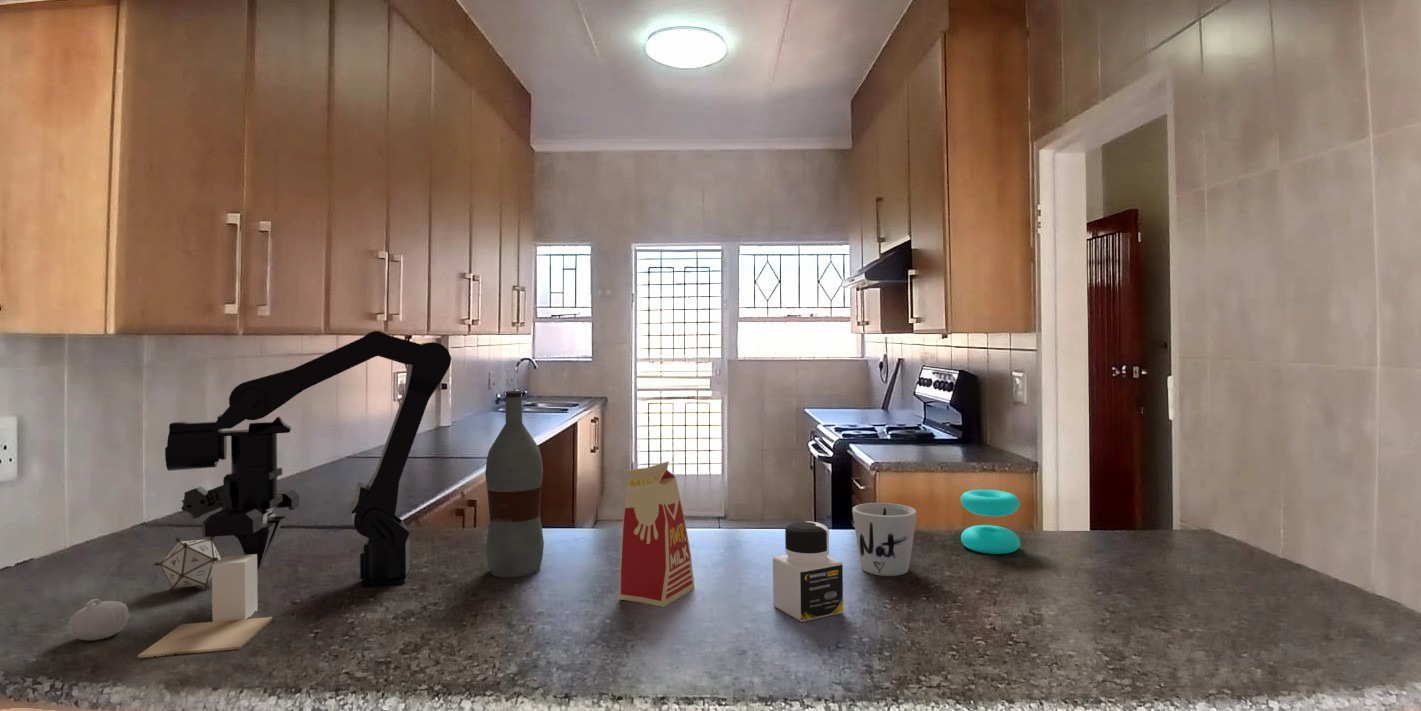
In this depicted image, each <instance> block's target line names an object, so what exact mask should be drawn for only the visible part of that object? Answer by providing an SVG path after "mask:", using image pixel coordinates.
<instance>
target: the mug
mask: <svg viewBox="0 0 1421 711" xmlns="http://www.w3.org/2000/svg"><path fill="white" fill-rule="evenodd" d="M851 512H852V516H853V517H852V518H853V524H854V529H855V532H854V533H855V537H856V544H857V548H858V555H859V562H860V568H861V569H862V570H863V571H864V572H866V573H869V574H872V575H876V576H880V577H896V576H902V575H905V574H906V573H908V572H909V569H910V564H911V563H910V562H911V556H912V550H913V544H914V543H913V542H914V536H915V530H916V529H915V528H916V523H917V522H916V521H917V517H918V516H917V515H918V512H917V510H916V509H915V508H913V507H912V506H908V505H904V504H900V503H891V502H868V503H866V502H865V503H862V504H857V505H855V506H853V507H852V510H851Z"/></svg>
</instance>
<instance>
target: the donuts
mask: <svg viewBox="0 0 1421 711" xmlns="http://www.w3.org/2000/svg"><path fill="white" fill-rule="evenodd" d="M960 504H961V506H962V507H963V508H964V509H965V510H966V511H968V512H970V513H972V514H974V515H979V516H984V517H1004V516H1009V515H1013V514H1014V513H1015V512H1017V511H1018V509H1019V508H1020V506H1021V505H1020V504H1021V503H1020V500H1019V498H1018V497H1017V496H1016V495H1015V494H1013V493H1011V492H1007V491H1005V490H1004V491H1002V490H996V489H970V490H968V491H965V492H963V493H962V494H961V496H960ZM960 540H961V543H962V545H963V546H965V548H967V549H969V550H972V551H974V552H977V553H983V554H990V555H991V554H992V555H1005V554H1011V553H1014V552H1016V551H1017V550H1019V548H1020V545H1021V541H1020V537H1019V536H1018V534H1016V533H1015V532H1014V531H1012V530H1011V529H1008V528H1006V527H1002V526H998V525H991V524H980V525H979V524H978V525H972V526H970V527H967V528H965V529H964V530H963V531H962V533H961V535H960Z"/></svg>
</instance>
